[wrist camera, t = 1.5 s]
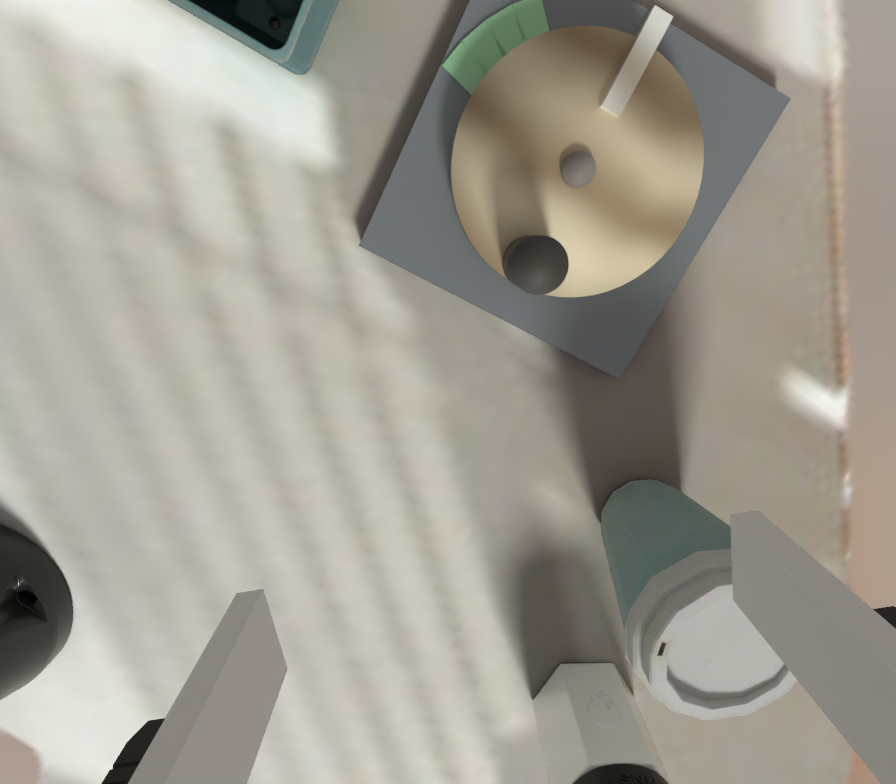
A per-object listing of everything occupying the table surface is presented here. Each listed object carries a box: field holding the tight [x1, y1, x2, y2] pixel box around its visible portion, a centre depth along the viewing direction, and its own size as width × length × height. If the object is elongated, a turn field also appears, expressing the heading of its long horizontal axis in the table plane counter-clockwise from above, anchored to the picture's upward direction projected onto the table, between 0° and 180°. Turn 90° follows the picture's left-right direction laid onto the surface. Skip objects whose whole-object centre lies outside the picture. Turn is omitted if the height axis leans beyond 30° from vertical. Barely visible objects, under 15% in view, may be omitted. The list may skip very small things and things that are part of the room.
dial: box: [451, 5, 704, 297], centre depth 31 cm, size 17×15×6 cm
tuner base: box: [359, 0, 790, 380], centre depth 35 cm, size 20×20×2 cm
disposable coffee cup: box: [601, 479, 797, 721], centre depth 36 cm, size 11×11×15 cm
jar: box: [533, 663, 671, 784], centre depth 42 cm, size 9×8×12 cm
